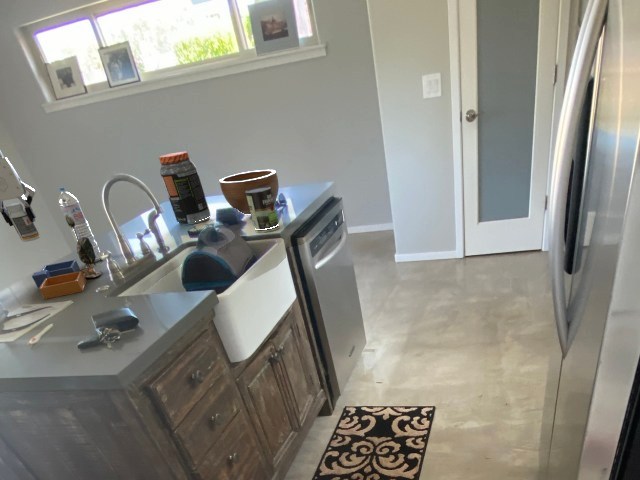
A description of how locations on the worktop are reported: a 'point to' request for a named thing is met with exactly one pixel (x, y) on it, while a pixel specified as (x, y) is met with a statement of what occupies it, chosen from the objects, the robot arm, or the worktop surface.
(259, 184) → the bowl
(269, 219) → the coffee can
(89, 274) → the plant with pod
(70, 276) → the amber bin
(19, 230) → the pill bottle
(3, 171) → the robot arm
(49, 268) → the blue bin
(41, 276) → the blue block
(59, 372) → the worktop surface
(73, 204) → the water bottle
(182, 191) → the supplement tub
